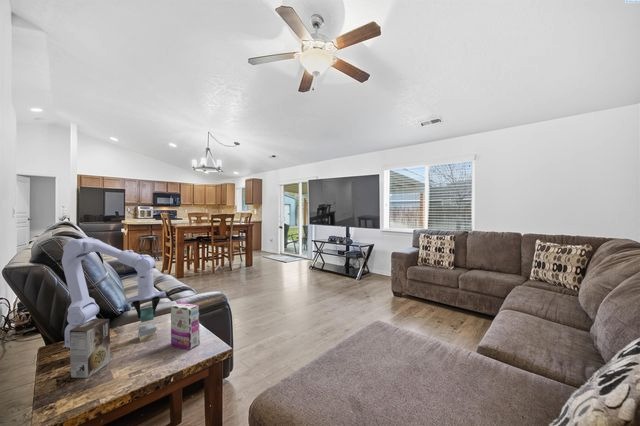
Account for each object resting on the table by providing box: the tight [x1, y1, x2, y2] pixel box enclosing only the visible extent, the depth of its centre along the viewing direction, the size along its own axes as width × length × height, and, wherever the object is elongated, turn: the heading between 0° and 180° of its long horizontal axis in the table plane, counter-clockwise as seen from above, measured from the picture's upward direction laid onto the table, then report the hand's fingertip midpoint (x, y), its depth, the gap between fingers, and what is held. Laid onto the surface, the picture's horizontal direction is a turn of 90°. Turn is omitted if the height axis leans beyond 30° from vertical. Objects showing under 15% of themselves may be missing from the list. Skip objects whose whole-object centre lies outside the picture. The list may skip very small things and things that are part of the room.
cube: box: [139, 306, 155, 323], centre depth 112 cm, size 4×4×4 cm
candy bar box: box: [170, 301, 200, 350], centre depth 106 cm, size 11×5×16 cm, turn 68°
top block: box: [138, 322, 157, 337], centre depth 112 cm, size 6×6×2 cm
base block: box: [137, 331, 158, 343], centre depth 112 cm, size 6×6×2 cm
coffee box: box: [69, 318, 112, 378], centre depth 90 cm, size 9×6×16 cm
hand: (146, 316), depth 112 cm, fingers closed on cube, 4 cm apart
